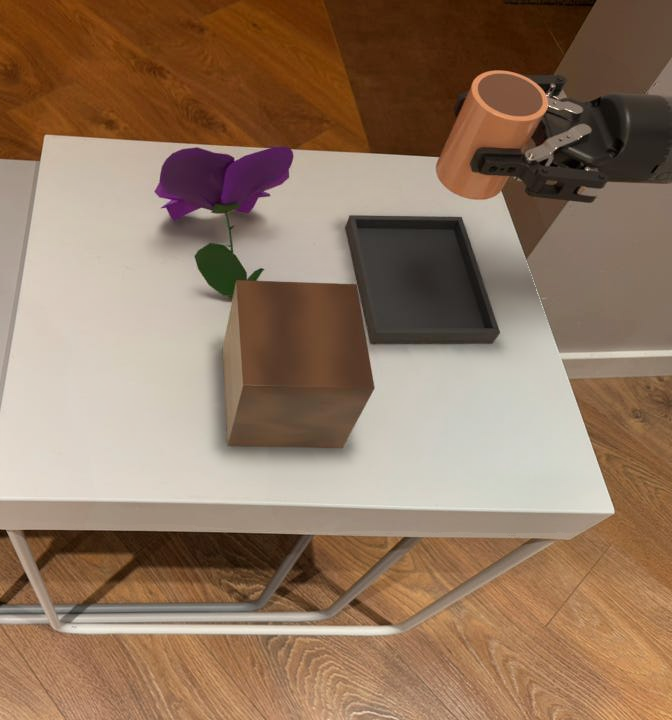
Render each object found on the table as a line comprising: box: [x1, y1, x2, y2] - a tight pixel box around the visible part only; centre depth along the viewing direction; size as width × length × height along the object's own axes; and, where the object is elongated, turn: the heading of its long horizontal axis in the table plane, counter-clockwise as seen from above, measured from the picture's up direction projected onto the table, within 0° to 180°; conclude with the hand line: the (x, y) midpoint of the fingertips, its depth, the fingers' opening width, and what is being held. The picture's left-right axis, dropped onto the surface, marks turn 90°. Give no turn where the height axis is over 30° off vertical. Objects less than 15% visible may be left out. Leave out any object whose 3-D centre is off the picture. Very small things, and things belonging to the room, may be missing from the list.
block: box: [222, 280, 376, 449], centre depth 71 cm, size 11×11×11 cm
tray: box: [344, 214, 501, 345], centre depth 84 cm, size 16×13×2 cm
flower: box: [153, 145, 294, 297], centre depth 80 cm, size 15×15×14 cm
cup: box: [435, 69, 548, 201], centre depth 68 cm, size 6×6×9 cm
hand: (465, 131), depth 67 cm, fingers closed on cup, 6 cm apart
